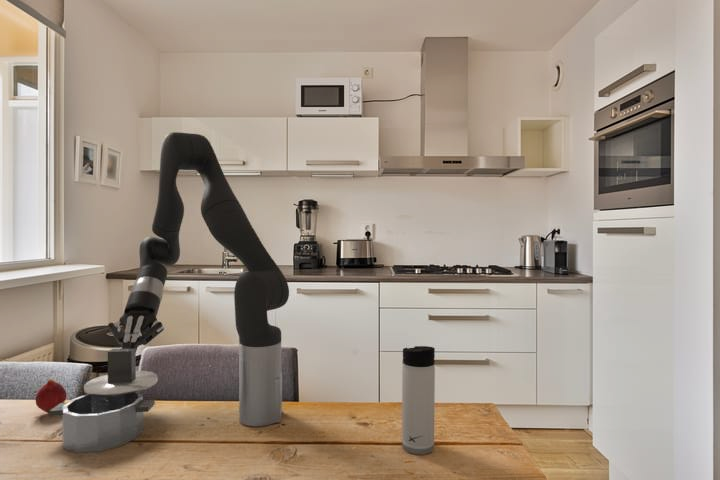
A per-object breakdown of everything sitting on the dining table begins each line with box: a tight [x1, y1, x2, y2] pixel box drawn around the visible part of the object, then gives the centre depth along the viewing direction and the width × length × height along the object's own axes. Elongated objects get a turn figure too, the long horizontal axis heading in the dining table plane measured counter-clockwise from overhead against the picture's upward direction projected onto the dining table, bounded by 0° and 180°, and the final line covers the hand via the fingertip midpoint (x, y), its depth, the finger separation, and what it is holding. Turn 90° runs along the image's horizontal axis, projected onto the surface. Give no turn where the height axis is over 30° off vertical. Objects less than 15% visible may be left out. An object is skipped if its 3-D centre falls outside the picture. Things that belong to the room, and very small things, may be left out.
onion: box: [35, 378, 67, 414], centre depth 102 cm, size 6×6×8 cm
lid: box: [83, 348, 159, 397], centre depth 100 cm, size 15×15×8 cm
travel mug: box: [401, 345, 436, 456], centre depth 87 cm, size 6×7×20 cm
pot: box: [49, 391, 156, 454], centre depth 91 cm, size 19×14×7 cm
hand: (126, 359), depth 102 cm, fingers closed
